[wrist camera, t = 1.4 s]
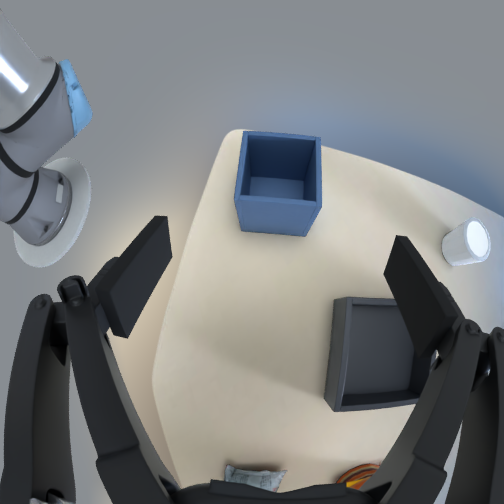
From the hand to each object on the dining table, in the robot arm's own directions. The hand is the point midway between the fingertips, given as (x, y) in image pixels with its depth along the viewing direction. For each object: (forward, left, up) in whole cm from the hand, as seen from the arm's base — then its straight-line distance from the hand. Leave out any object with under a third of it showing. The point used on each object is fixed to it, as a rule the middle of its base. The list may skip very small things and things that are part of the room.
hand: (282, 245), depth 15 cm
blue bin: (0, +12, -22) cm, 25 cm away
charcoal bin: (+16, -8, -22) cm, 28 cm away
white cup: (+31, +8, -22) cm, 39 cm away
